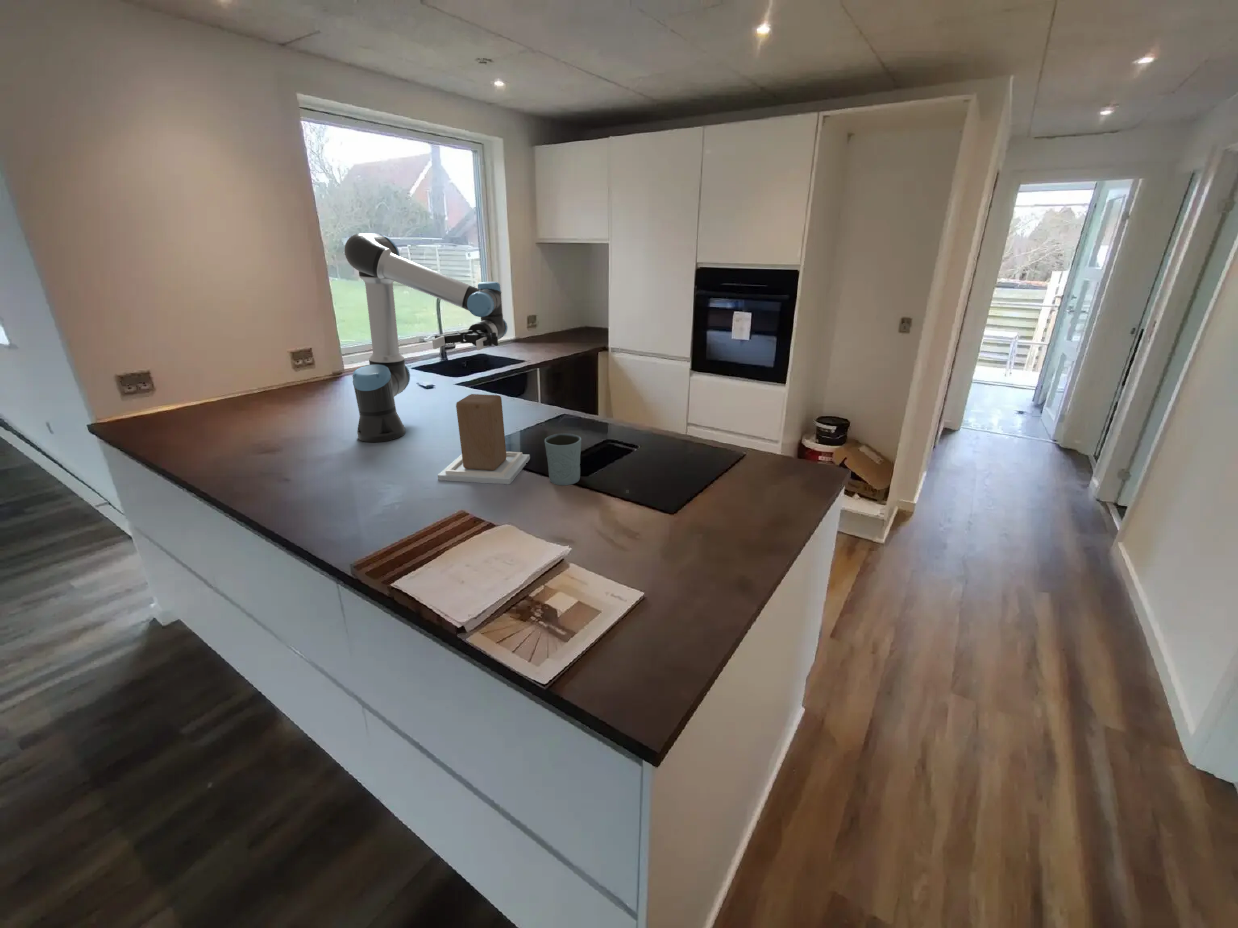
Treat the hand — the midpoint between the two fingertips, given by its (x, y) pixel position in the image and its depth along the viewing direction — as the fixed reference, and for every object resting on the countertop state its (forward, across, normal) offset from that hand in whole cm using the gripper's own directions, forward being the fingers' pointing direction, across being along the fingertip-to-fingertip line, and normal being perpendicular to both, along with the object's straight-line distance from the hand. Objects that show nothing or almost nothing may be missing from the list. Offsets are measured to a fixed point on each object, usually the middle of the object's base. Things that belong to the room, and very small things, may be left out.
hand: (455, 344), depth 160 cm
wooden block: (+13, -11, -33) cm, 37 cm away
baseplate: (+13, -11, -34) cm, 38 cm away
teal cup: (+16, -36, -34) cm, 52 cm away
